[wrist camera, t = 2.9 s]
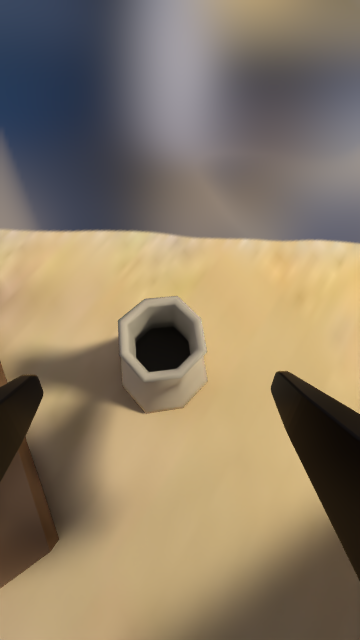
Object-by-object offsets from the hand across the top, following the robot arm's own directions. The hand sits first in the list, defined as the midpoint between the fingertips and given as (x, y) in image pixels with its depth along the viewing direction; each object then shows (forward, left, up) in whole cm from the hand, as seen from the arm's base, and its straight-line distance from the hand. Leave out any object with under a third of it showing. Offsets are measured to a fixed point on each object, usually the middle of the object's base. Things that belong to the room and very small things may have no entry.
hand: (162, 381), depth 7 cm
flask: (+1, -1, -9) cm, 9 cm away
